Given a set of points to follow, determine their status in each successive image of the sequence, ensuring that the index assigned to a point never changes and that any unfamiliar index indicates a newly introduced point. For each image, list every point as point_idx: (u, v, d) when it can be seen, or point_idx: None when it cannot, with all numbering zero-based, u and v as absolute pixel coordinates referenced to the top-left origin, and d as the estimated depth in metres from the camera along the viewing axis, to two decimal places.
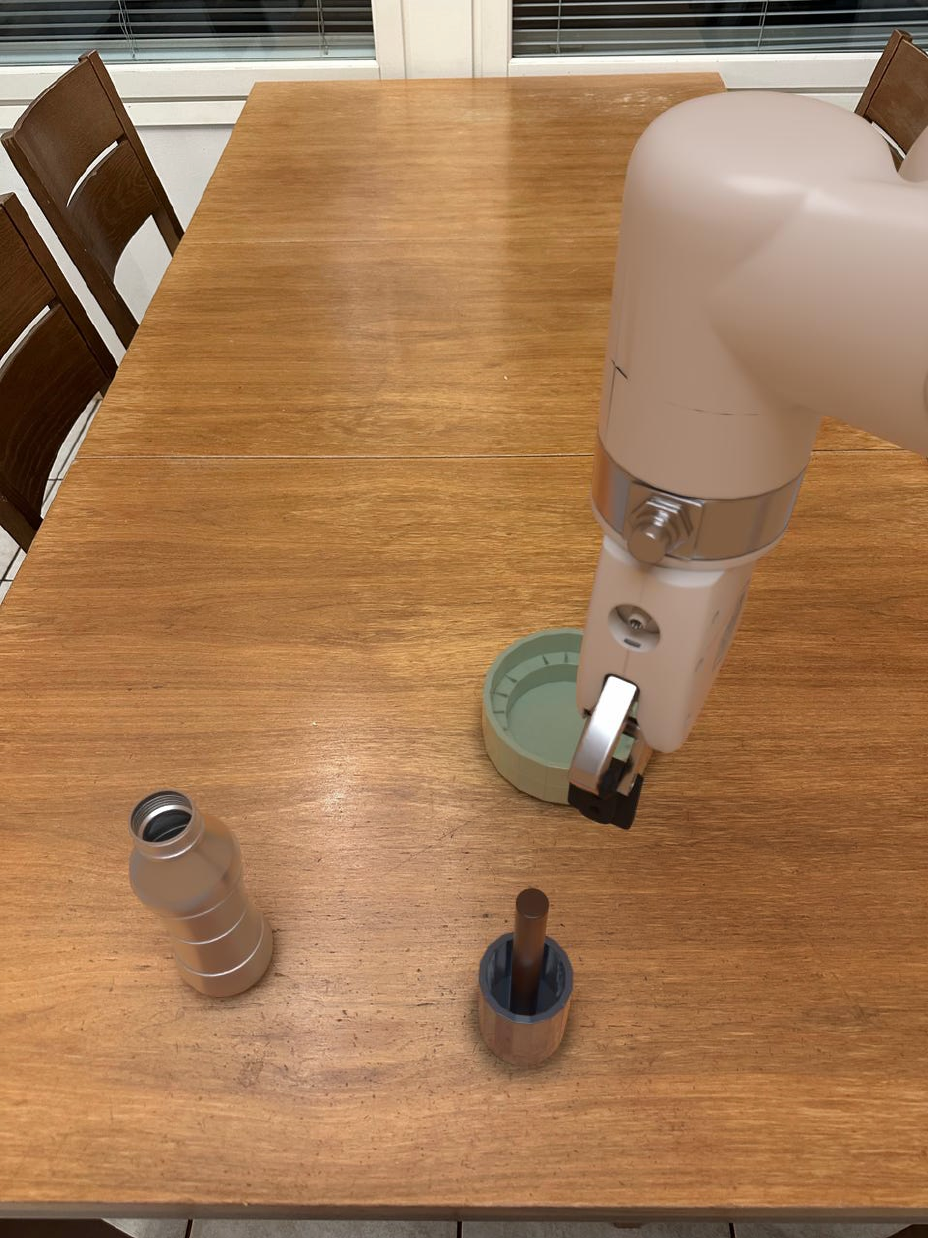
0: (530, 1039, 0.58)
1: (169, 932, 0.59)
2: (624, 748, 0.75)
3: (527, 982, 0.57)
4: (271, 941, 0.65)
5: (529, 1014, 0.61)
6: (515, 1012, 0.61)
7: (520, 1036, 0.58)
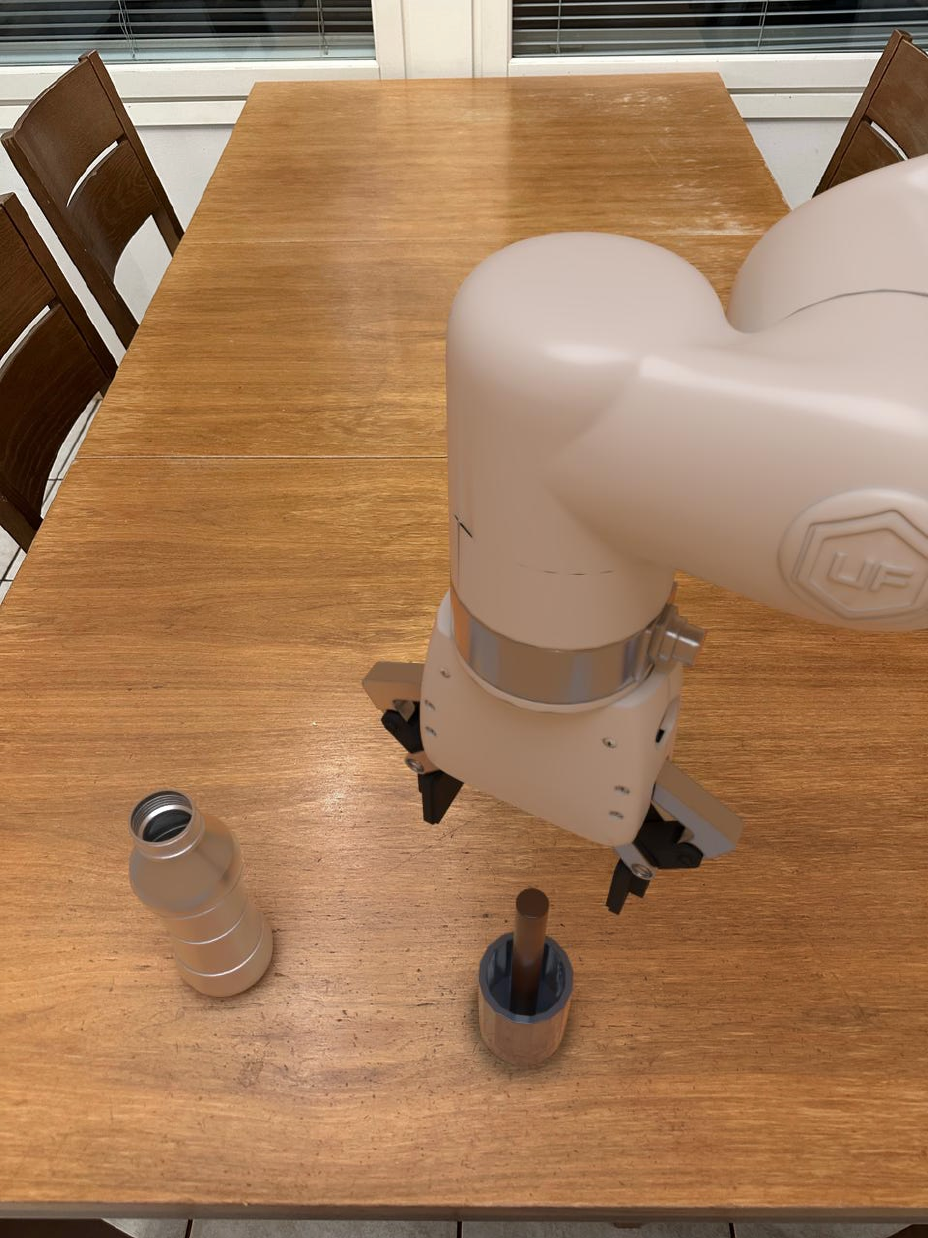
0: (530, 1039, 0.58)
1: (169, 932, 0.59)
2: None
3: (527, 982, 0.57)
4: (271, 941, 0.65)
5: (529, 1014, 0.61)
6: (515, 1012, 0.61)
7: (520, 1036, 0.58)
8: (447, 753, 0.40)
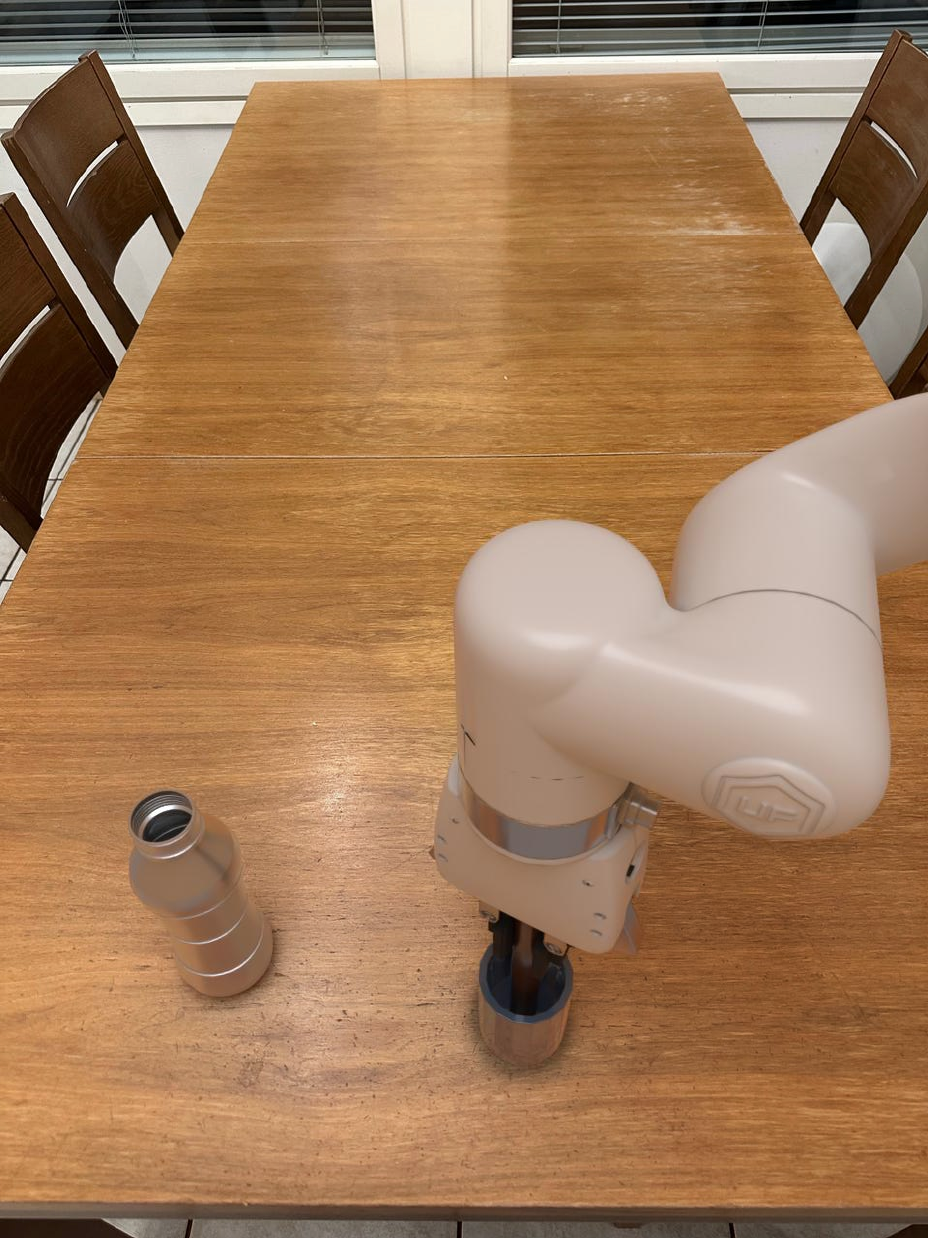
0: (530, 1039, 0.58)
1: (169, 932, 0.59)
2: None
3: (527, 982, 0.57)
4: (271, 941, 0.65)
5: (529, 1014, 0.61)
6: (515, 1012, 0.61)
7: (520, 1036, 0.58)
8: (457, 874, 0.48)
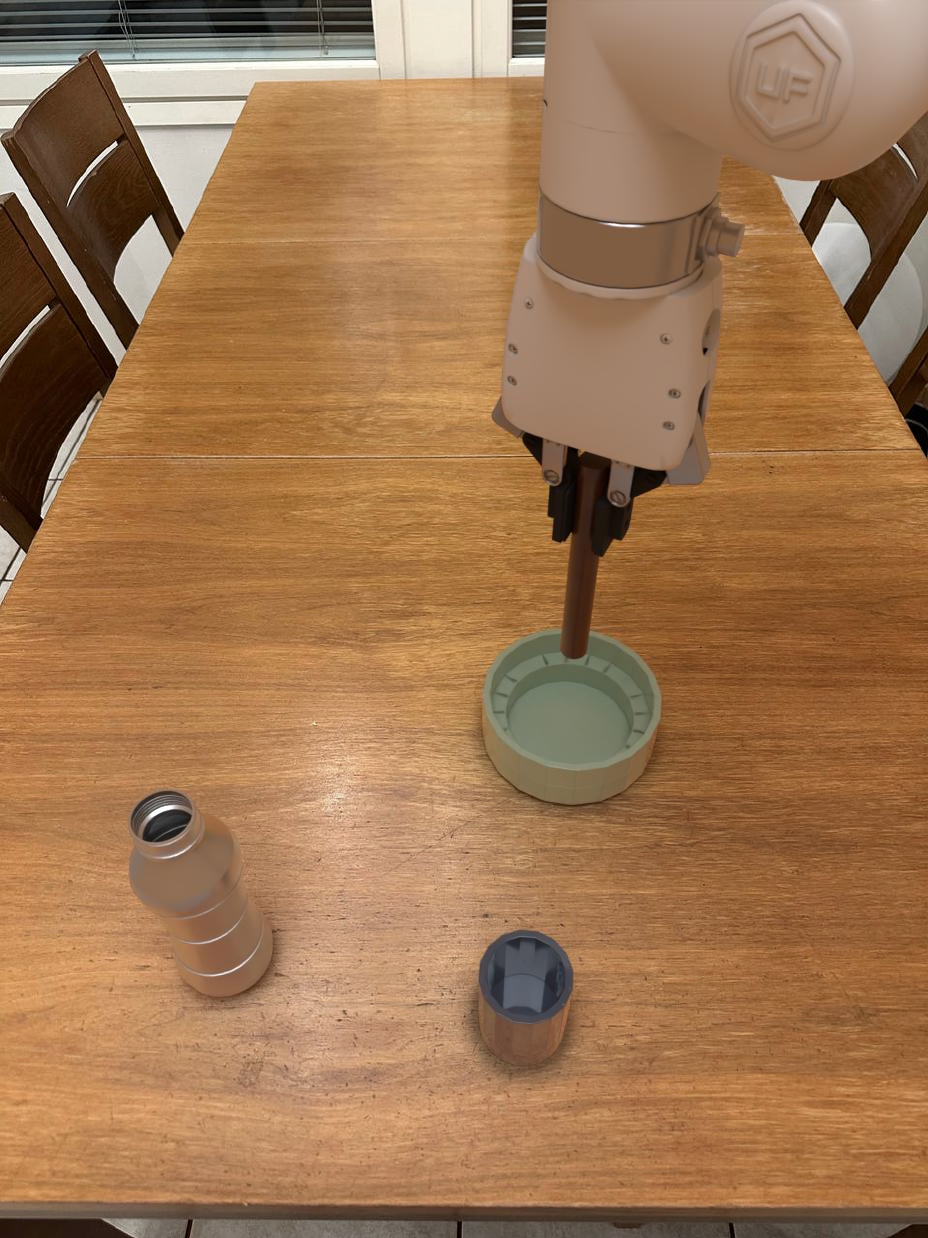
0: (530, 1039, 0.58)
1: (169, 932, 0.59)
2: (624, 748, 0.75)
3: (583, 583, 0.57)
4: (271, 941, 0.65)
5: (581, 643, 0.61)
6: (567, 641, 0.61)
7: (520, 1036, 0.58)
8: (525, 401, 0.48)
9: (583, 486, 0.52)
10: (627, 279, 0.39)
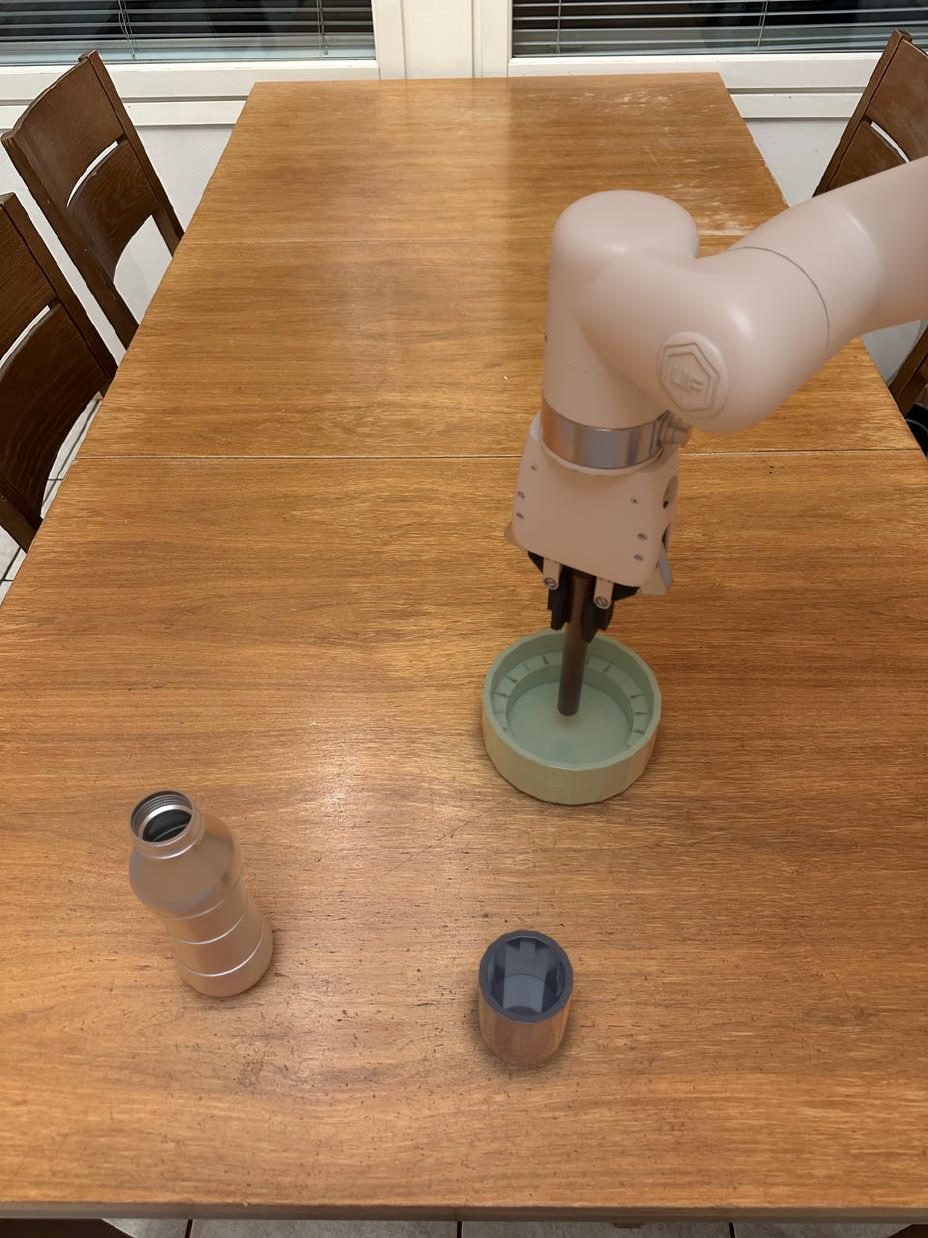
0: (530, 1039, 0.58)
1: (169, 932, 0.59)
2: (624, 748, 0.75)
3: (575, 660, 0.71)
4: (271, 941, 0.65)
5: (574, 704, 0.76)
6: (563, 702, 0.76)
7: (520, 1036, 0.58)
8: (530, 531, 0.62)
9: (575, 590, 0.66)
10: (605, 463, 0.54)
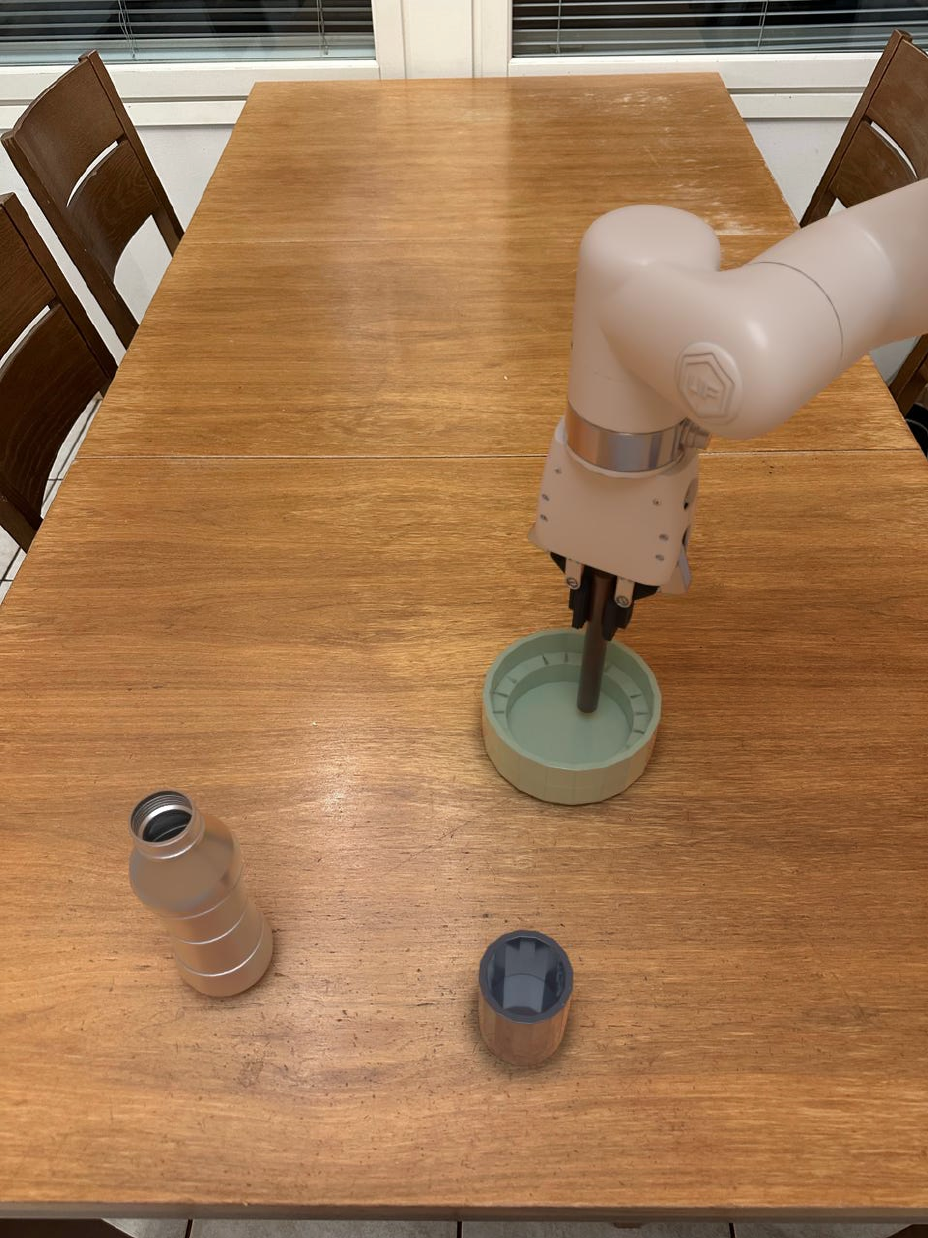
0: (530, 1039, 0.58)
1: (169, 932, 0.59)
2: (624, 748, 0.75)
3: (596, 658, 0.73)
4: (271, 941, 0.65)
5: (593, 701, 0.77)
6: (582, 700, 0.78)
7: (520, 1036, 0.58)
8: (553, 532, 0.64)
9: (596, 590, 0.68)
10: (629, 466, 0.56)
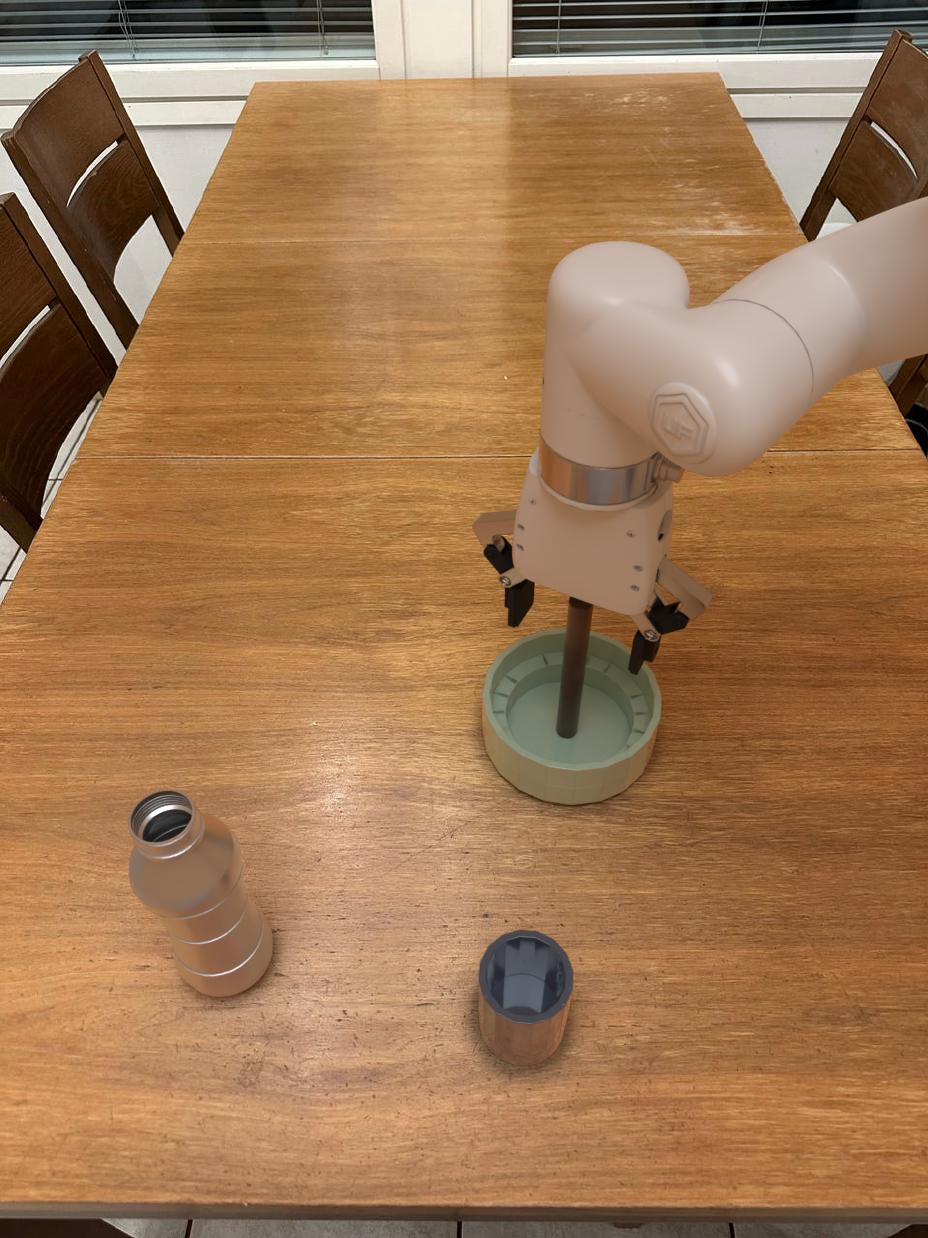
0: (530, 1039, 0.58)
1: (169, 932, 0.59)
2: (624, 748, 0.75)
3: (573, 685, 0.73)
4: (271, 941, 0.65)
5: (572, 727, 0.78)
6: (561, 725, 0.78)
7: (520, 1036, 0.58)
8: (529, 562, 0.64)
9: (572, 619, 0.68)
10: (602, 499, 0.56)
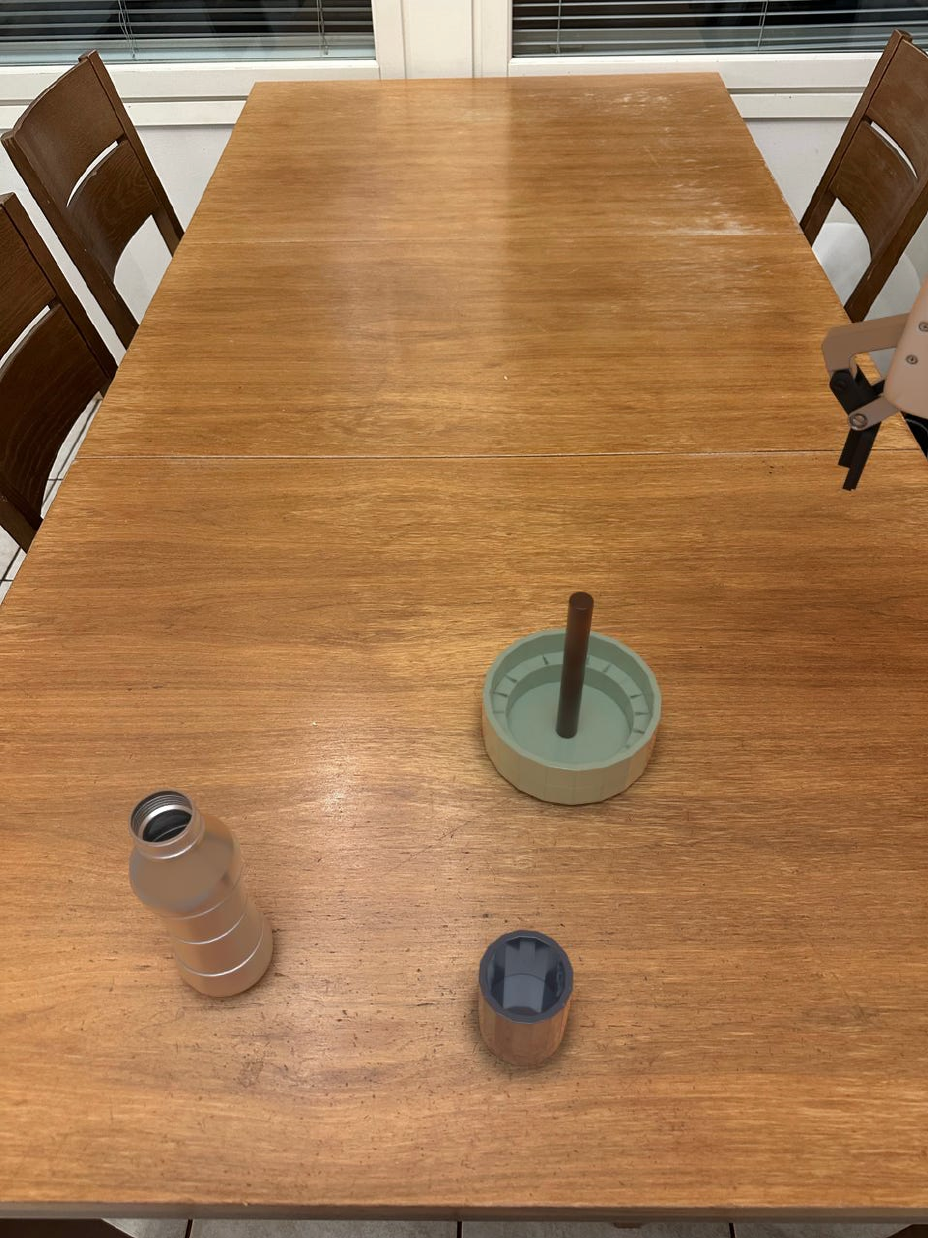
0: (530, 1039, 0.58)
1: (169, 932, 0.59)
2: (624, 748, 0.75)
3: (573, 685, 0.73)
4: (271, 941, 0.65)
5: (572, 727, 0.78)
6: (561, 725, 0.78)
7: (520, 1036, 0.58)
8: (921, 381, 0.47)
9: (572, 619, 0.68)
10: None
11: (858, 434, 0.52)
